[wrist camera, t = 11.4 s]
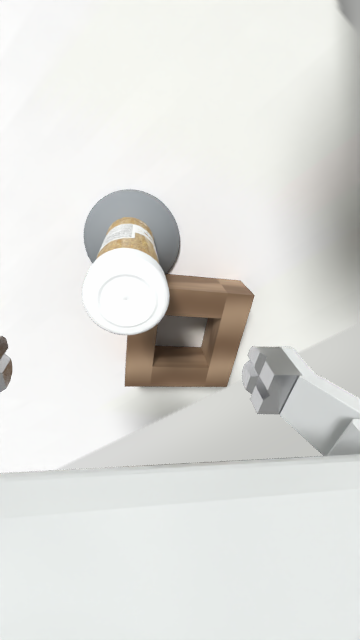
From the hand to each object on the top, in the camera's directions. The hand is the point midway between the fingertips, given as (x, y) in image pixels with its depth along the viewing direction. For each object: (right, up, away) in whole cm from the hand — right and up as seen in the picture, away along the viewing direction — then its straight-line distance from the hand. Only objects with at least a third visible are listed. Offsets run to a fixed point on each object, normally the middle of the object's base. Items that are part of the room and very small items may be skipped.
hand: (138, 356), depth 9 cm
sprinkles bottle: (-3, +9, +16) cm, 19 cm away
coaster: (-3, +9, +16) cm, 19 cm away
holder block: (+1, +1, +22) cm, 22 cm away
